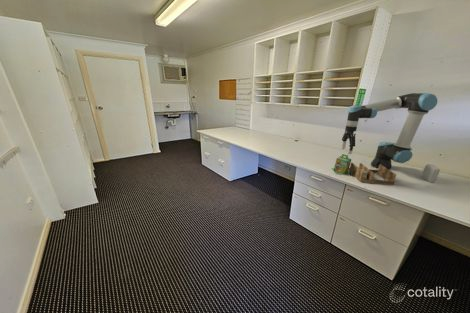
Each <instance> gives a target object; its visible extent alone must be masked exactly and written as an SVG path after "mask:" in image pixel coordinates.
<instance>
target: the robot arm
mask: <svg viewBox="0 0 470 313" xmlns="http://www.w3.org/2000/svg"><path fill="white" fill-rule="evenodd" d="M437 105H438V97H437V96H436V94H434V93H430V92H429V93H427V92H423V93H422V92H417V93H415V92H414V93H413V92H412V93H407V94H401V95H399V96H394V97H393V98H391V99H386V100H382V101H378V102H372V103H367V104H364V105H350V106H349V108H348V109H349V110H348V113H347V114H348V115H347V120H346V122H345V124H346V125H345V129H344V130H345V131H344V134H343V135H342V138H341V140H342V141H341V142H342V143H341V150H346V145H347V141H349V145H348V151H347V155H353V154H352V153H353V151H354V147H356V133H355V132H357V130H358V129H357V128H358V125H359V119H374V118H376V116H377V115H378V112H383V111H387V110H392V109H396V110H397V109H407V112H408V114H407V117H406V120H405V122H404V123H403V126H402V129H401V131H400V134H399V135H398V137H397V140H396V142H388V141H380V142H379V144H378V146H377V150H376V153H375V157H374V158H373V159H372V161H371V162H370V166H372V167H373V168H376V169H378V168H379V165H380V164H381V165H382V166H384V167H385V168H387V169H389V170H391V169H392V167H393V166H392V161H393V162H395V163H399V164H403V163H405V164H406V162H409V161H410V160H411V159H412V158H413V152H412V151H411V150H412V146H411V144H412V142H413V140H414V138H415V136H416V133H417V131H418V129H419V127H420V125H421V122H422V120H423V118H424V116H425V115H427V114H429V112H430V111H431V110H433V109H435V108H436V106H437Z"/></svg>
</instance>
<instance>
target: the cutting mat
mask: <svg viewBox="0 0 470 313" xmlns="http://www.w3.org/2000/svg"><path fill="white" fill-rule="evenodd" d="M331 170H332V172H334V174H335V175H341V176H342V175H343V176H344V175H345V176H352V173H351V172H350V171H348V172H347V173H345V174H343V173H340V172H336V171H334V167H331Z"/></svg>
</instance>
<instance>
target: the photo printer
mask: <svg viewBox="0 0 470 313" xmlns="http://www.w3.org/2000/svg"><path fill="white" fill-rule="evenodd" d="M440 172H441V170H440V168H439V167H438V166H437V165H435V164H430V163H429V164H426V165H425V166H424V167H423V170H422V174H421V178H422V179H424V180H425V181H427V182H429V183H435V182H436V181H437V178H438V176H439V173H440Z"/></svg>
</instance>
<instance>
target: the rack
mask: <svg viewBox="0 0 470 313" xmlns="http://www.w3.org/2000/svg"><path fill="white" fill-rule="evenodd" d="M361 169H363V170H365V171H366V172H367V179H362V177H363V173H364V172H363V171H362V170H361ZM348 172H349V173H350V174H351V175H353V177H354V178H356V179H357V181H359V182H360V183H365V184H378V185H388V186H389V185H390V186H394V185H395V179H396V177H397V174H396V173H394V172H393V171H391V169H387V168H385V167H384V166H382V165H381V164H380V165H379V168H377V169H369V168H368V167H367V166H366V165H364V164H363V163H361V162H360V163H359V166H357V165H356V164H355V163H353V162H351V163H350V167H349V171H348ZM374 174H377V175H379V176H380V177H381V178H383V179H384V180H381V179H373V178H374Z"/></svg>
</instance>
